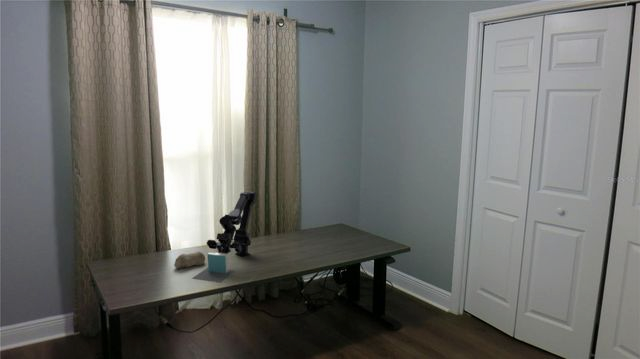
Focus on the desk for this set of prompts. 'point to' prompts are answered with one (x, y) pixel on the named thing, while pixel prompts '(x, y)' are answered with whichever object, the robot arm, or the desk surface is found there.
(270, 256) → the desk surface
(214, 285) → the desk surface
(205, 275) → the mat
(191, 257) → the sculpture
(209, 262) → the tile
